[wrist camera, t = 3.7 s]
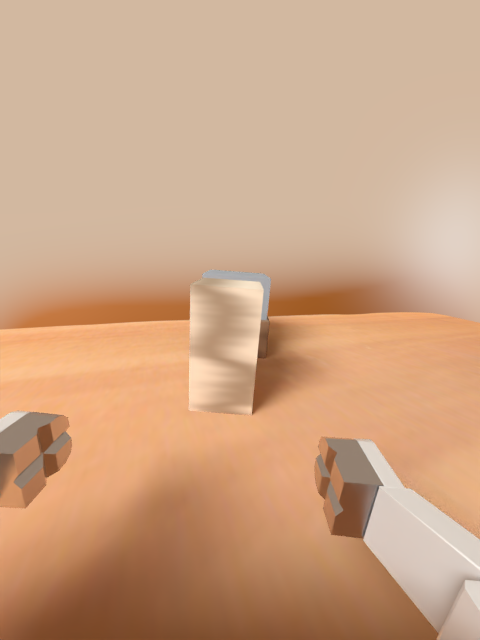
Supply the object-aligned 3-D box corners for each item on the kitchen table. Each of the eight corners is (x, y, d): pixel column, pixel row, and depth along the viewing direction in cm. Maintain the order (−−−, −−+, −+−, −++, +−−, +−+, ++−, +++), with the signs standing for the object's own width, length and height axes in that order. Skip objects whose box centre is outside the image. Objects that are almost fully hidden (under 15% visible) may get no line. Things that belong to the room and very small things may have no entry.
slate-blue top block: (260, 306, 36) (264, 273, 35) (266, 320, 29) (271, 279, 27) (209, 302, 36) (210, 269, 35) (201, 315, 29) (202, 273, 27)
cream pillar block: (250, 382, 23) (260, 281, 21) (251, 415, 19) (263, 289, 16) (200, 378, 23) (203, 277, 21) (188, 410, 19) (190, 284, 16)
